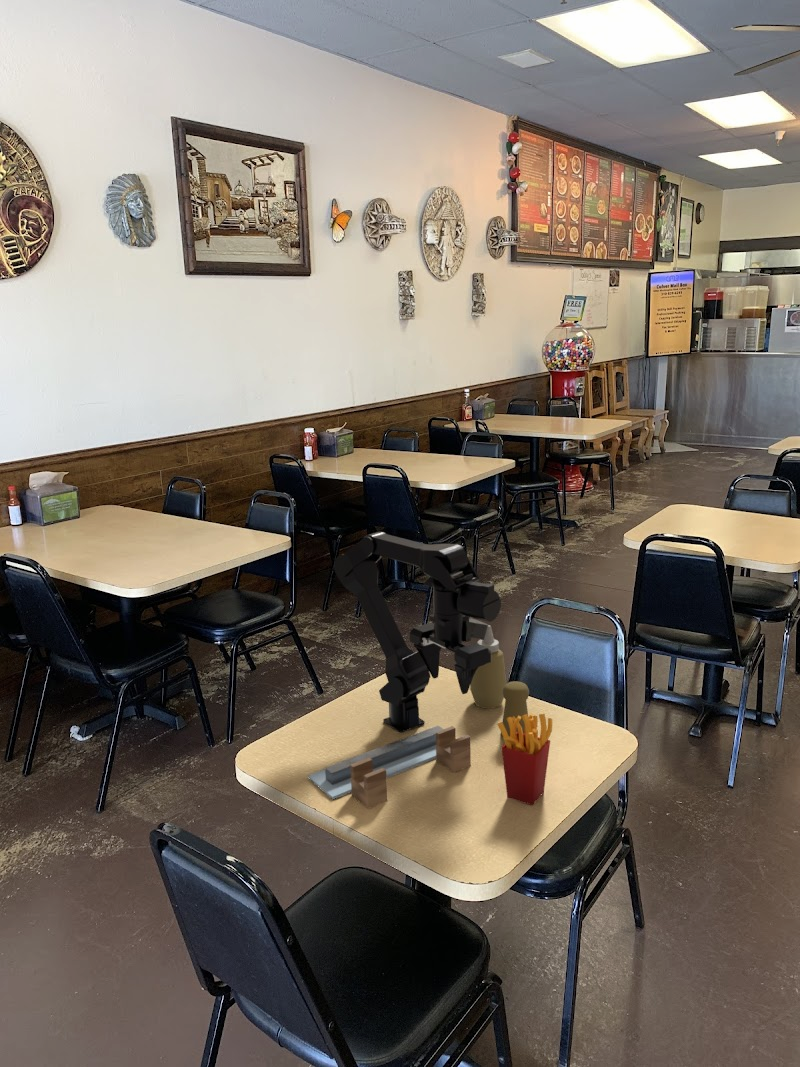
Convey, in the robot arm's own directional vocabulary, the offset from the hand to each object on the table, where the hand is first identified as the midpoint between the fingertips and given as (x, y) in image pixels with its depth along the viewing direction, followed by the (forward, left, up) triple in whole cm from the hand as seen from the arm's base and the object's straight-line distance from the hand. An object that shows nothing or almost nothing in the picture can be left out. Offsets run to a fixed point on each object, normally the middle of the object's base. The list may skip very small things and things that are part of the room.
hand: (449, 685), depth 157 cm
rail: (-1, -14, -11) cm, 18 cm away
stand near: (+7, -24, -12) cm, 28 cm away
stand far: (+7, -5, -12) cm, 15 cm away
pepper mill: (+6, +12, -12) cm, 18 cm away
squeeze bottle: (-8, +17, -12) cm, 22 cm away
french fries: (+22, -1, -12) cm, 25 cm away
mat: (-1, -14, -12) cm, 19 cm away
